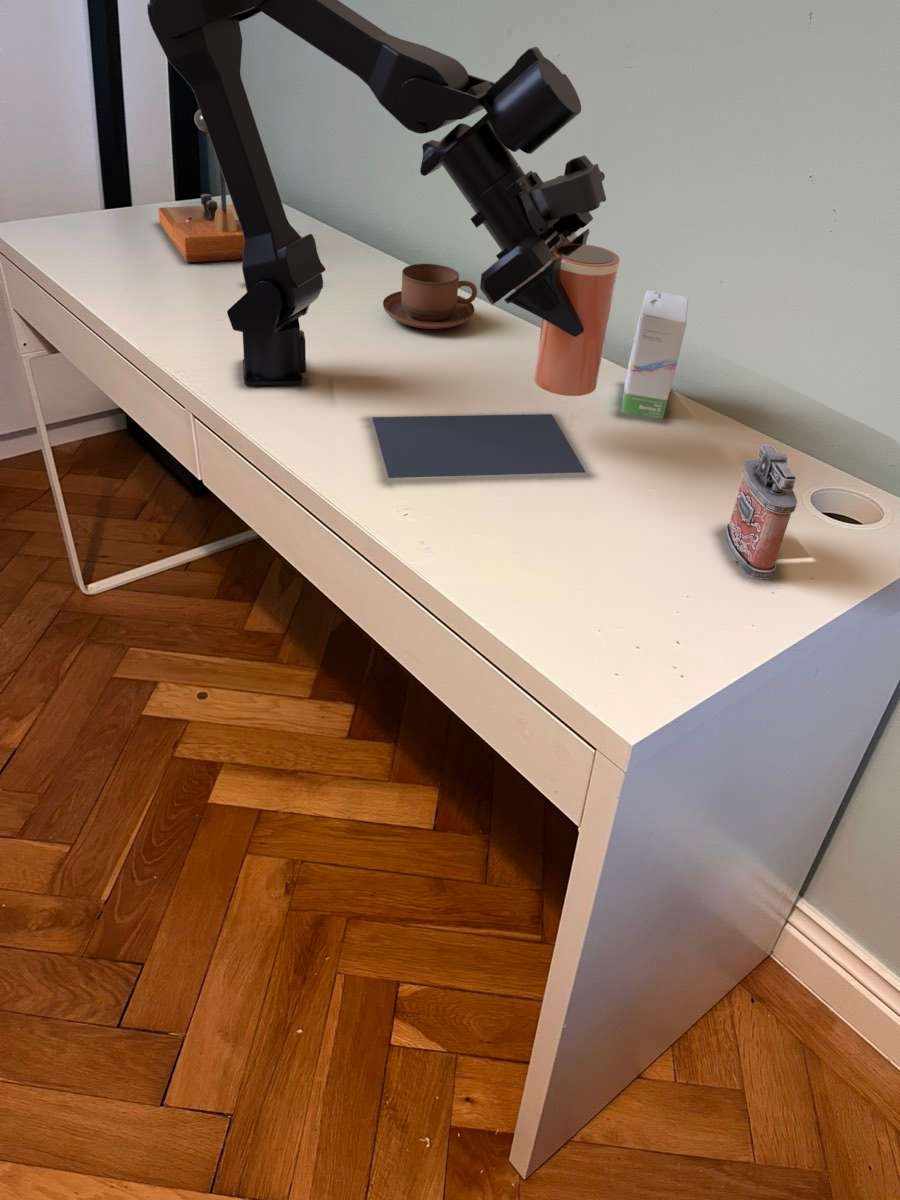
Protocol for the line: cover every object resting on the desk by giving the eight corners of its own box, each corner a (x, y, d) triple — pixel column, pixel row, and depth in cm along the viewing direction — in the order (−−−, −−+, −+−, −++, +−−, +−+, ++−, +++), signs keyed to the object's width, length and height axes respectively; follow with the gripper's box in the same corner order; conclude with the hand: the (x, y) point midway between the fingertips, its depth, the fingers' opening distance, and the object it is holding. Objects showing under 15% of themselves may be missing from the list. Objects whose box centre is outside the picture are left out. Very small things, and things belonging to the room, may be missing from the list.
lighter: (717, 529, 93) (743, 433, 87) (751, 530, 94) (780, 434, 88) (744, 579, 87) (775, 479, 81) (781, 579, 87) (814, 480, 81)
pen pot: (548, 398, 98) (567, 266, 90) (524, 371, 103) (541, 243, 95) (607, 394, 100) (631, 264, 92) (581, 367, 105) (602, 242, 97)
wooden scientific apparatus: (203, 288, 134) (193, 149, 124) (159, 223, 155) (147, 100, 145) (299, 281, 139) (297, 147, 129) (243, 219, 160) (238, 100, 150)
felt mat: (388, 481, 96) (388, 477, 96) (371, 420, 106) (372, 416, 106) (585, 475, 100) (585, 471, 100) (551, 417, 110) (551, 414, 110)
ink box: (624, 385, 119) (642, 287, 112) (667, 391, 118) (689, 294, 111) (619, 415, 112) (639, 313, 105) (665, 422, 111) (688, 320, 104)
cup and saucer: (449, 299, 138) (452, 255, 134) (488, 331, 129) (493, 285, 125) (368, 307, 133) (370, 261, 129) (404, 341, 125) (406, 292, 121)
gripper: (530, 148, 81) (636, 306, 85) (587, 112, 96) (676, 249, 99) (434, 229, 88) (537, 373, 92) (501, 184, 102) (587, 310, 106)
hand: (588, 322), depth 97 cm, fingers closed on pen pot, 6 cm apart
